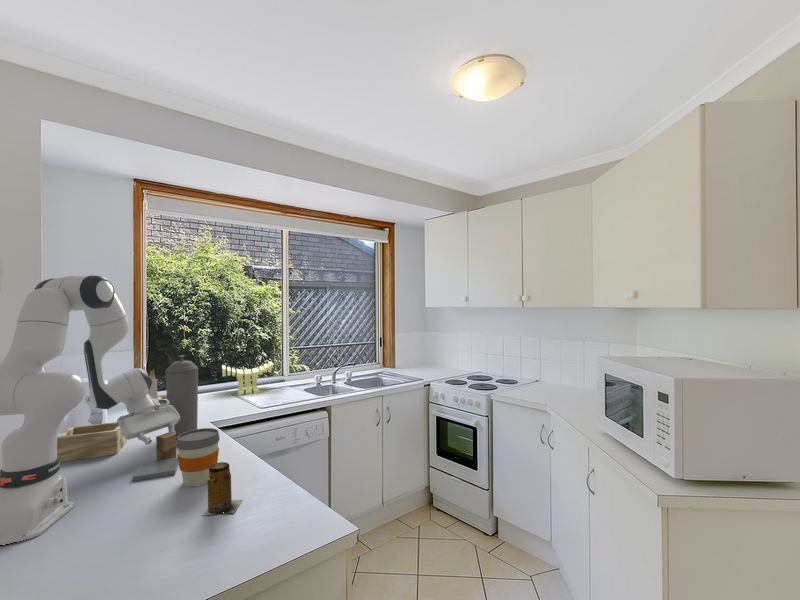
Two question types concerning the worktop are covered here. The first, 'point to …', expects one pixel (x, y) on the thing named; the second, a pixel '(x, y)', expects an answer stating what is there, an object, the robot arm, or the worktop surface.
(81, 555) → the worktop surface
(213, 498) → the condiment
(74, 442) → the bamboo organizer
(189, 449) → the reusable coffee cup
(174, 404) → the canister
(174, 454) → the walnut block
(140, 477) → the slate coaster
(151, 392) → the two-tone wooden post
